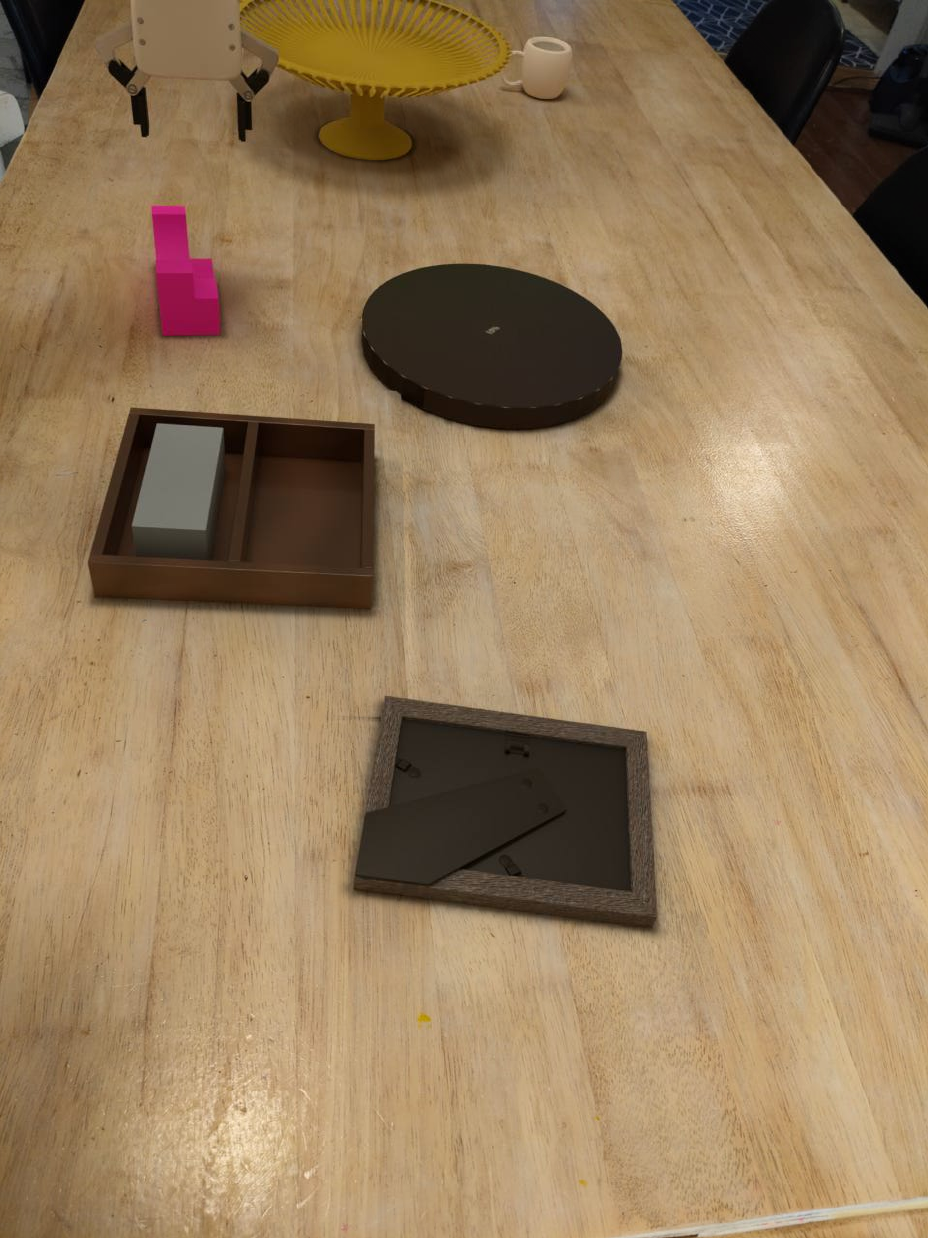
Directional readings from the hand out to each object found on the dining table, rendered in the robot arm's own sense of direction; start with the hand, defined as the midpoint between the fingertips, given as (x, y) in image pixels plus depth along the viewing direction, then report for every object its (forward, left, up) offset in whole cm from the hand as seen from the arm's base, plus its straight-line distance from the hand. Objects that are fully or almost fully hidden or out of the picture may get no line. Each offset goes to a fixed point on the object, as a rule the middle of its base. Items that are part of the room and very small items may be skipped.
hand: (194, 133), depth 105 cm
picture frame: (+30, -68, -19) cm, 77 cm away
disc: (+33, -6, -19) cm, 39 cm away
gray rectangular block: (+2, -38, -18) cm, 42 cm away
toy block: (-2, 0, -19) cm, 19 cm away
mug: (+46, +75, -19) cm, 90 cm away
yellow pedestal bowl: (+18, +49, -19) cm, 55 cm away
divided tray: (+8, -38, -19) cm, 43 cm away
